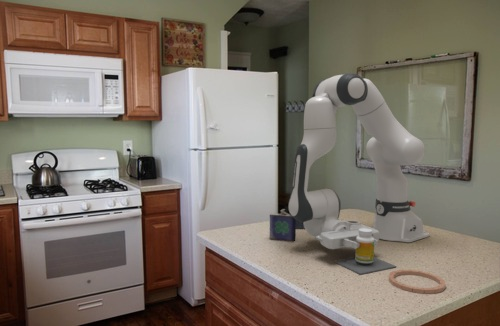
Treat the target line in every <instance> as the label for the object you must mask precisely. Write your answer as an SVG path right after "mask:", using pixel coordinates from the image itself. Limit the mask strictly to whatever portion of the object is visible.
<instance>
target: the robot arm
mask: <svg viewBox="0 0 500 326" xmlns="http://www.w3.org/2000/svg"><path fill="white" fill-rule="evenodd" d="M347 106H351V107H352V109H353V112H354V113H355V115H356V117H357V118H358V121H359V122H360V124H361V126H362V127H363V129H364V131H365V132H366V133H367V135H369V136H371V138H370V139H369V140H368V141H367V142H366V147H365V149H366V150H365V151H366V154H367V156H368V157H369V158H370V160H371V162H372V164H373V167H374V170H375V174H376V175H375V176H376V186H377V187H376V199H375V204H374V205H375V207H374V208H375V212H374V213H375V215H374V218H373V219H374V220H373V224H372V225H373V226H372V227H371V226H369V225H366V224H365V225H364V224H362V223H361V222H360V221H353V220H351V221H350V220H344V219H339V217H340V215H341V208H342V207H341V205H342V204H341V199H340V197H339V196H338V194H337V192H336V191H335V190H333V189H332V188H321V189H316V190H310V191H308V186H309V177H310V171H311V170H310V169H311V167H312V165H313V164H314V162H315V161H317V160H318V159H320V158H321V157H323V156H325V155H326V154H329V152H330V151H332V150H333V148H334V147H335V146H336V143H337V135H338V134H337V120H336V115H337V111H338V109H339V108H343V107H347ZM425 150H426V149H425V145H424V142H423V141H422V140H421V139H419V138H418V137H416V136H415V135H413V134H412V133H410V132H409V131H408V130H407V129H406V128H405V126H403V125H402V124H401V123H400V122H399V121H398V120H397V118H395V115H394V114H393V112H392V111H391V108H390V107H389V106H388V104H387V102H386V100H385V98H384V96H383V95H382V93H381V92H380V90H379V89H378V88H377V86H376V85H375V84H374V83H373V82H372V80H370V79H368V78H363V77H362V76H361V75H359V74H357V73H351V72H350V73H345V74H338V75H333V76H332V77H328V78H325V79H323V80H320V81H318V82H317V83H316V85H315V86H314V89H313V91H312V96H311V97H310V98H309V99H308V100H307V101H306V102H305V106H304V111H303V137H302V141H301V143H300V144H299V146H298V147H297V148H296V150H295V155H294V162H293V171H292V172H293V173H292V182H291V190H290V195H289V199H288V204H287V208H288V212H289V213H290V215H291V216H292V217H293V218H294V219H295V220H297V221H299V222H303V224H304V228H305V229H304V230H305V231H306V232H307V233H308V234H309V235H310V236H312V237H314V239H315V240H317V241H318V242H320V244H321V246H323V247H324V248H327V249H329V250H338V249H344V248H352V249H355V250H356V249H357V248H360V243H359V242H357V241H356V237H357V236H359V233H358V232H359V229H361V228H366V229H371V230H372V235H371V236H372V237H373V238H374V247H375V246H377V245H378V243H379V241H380V240H384V241H390V242H391V241H392V242H403V243H412V242H415V241H419V240H421V239H424V238H428V237H430V236H431V235H430V233H429V232H428V231H426V230H424V222H423V220H422V219H421V218H420V216H418V215H417V214H415V213H414V211H412V209H411V207H413V208H414V207H416V202H415V201H412V200H408V194H409V180H408V179H407V178H408V177H406V176H405V175H404V173H403V171H402V168H401V166H412V165H413V166H414V165H416V164H419V163H420V162H421V161H422V160H423V158H424V156H425V152H426V151H425ZM289 213H288V214H289Z"/></svg>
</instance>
